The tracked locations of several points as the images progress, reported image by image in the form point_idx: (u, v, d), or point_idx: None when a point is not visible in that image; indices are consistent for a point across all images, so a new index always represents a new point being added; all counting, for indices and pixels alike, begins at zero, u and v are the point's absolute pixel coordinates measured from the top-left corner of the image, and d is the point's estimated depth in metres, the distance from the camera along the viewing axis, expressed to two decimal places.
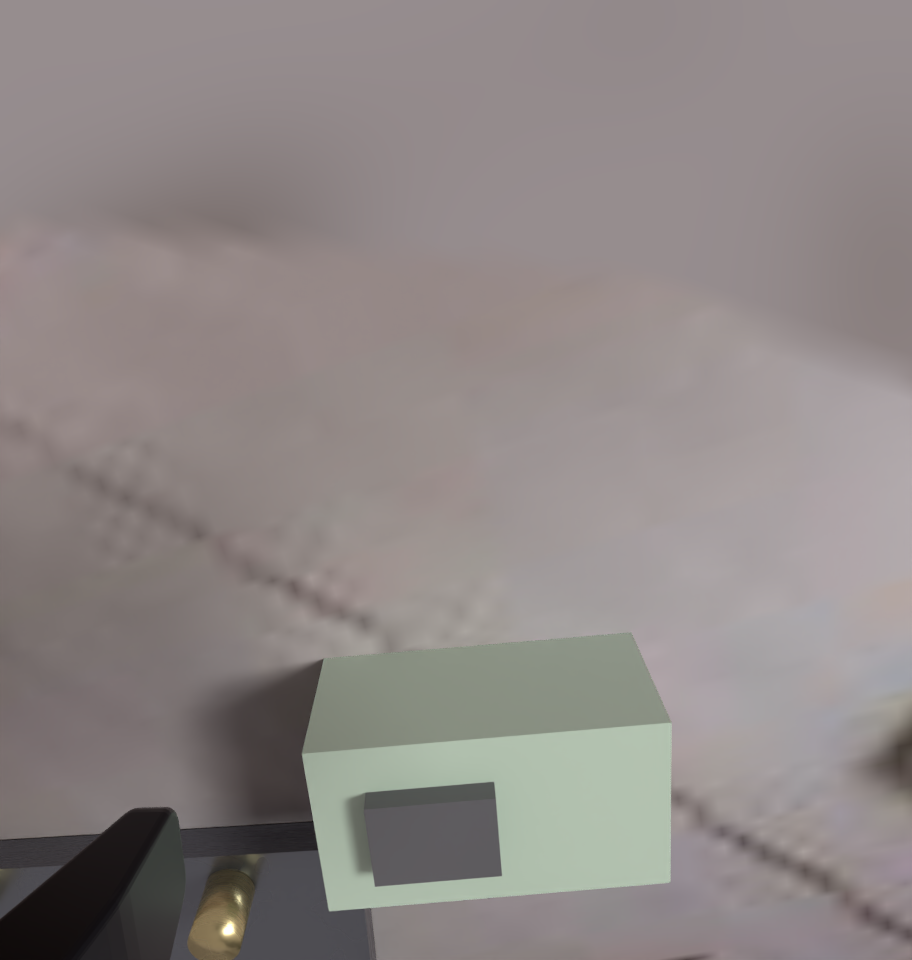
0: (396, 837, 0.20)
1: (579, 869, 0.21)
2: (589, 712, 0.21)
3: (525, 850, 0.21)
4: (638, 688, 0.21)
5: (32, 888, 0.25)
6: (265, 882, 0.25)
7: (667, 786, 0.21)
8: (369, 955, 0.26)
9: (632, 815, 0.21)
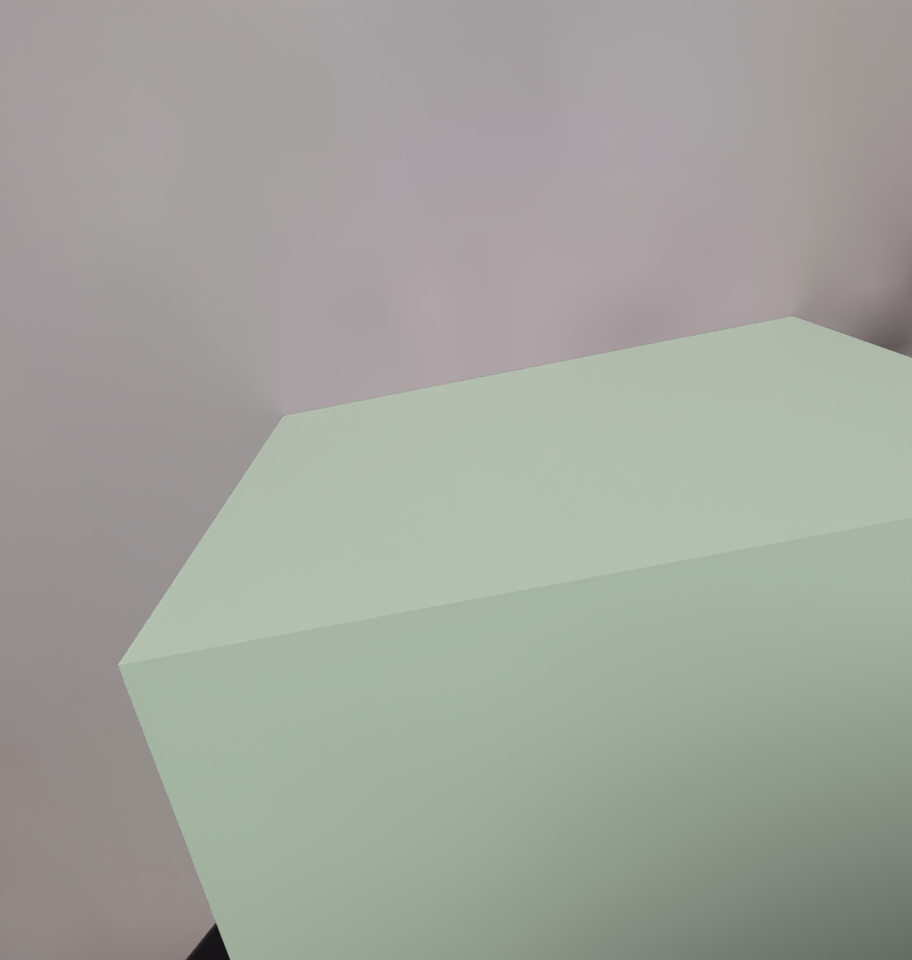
0: None
1: None
2: None
3: None
4: None
5: None
6: None
7: (521, 606, 0.04)
8: None
9: (708, 736, 0.04)
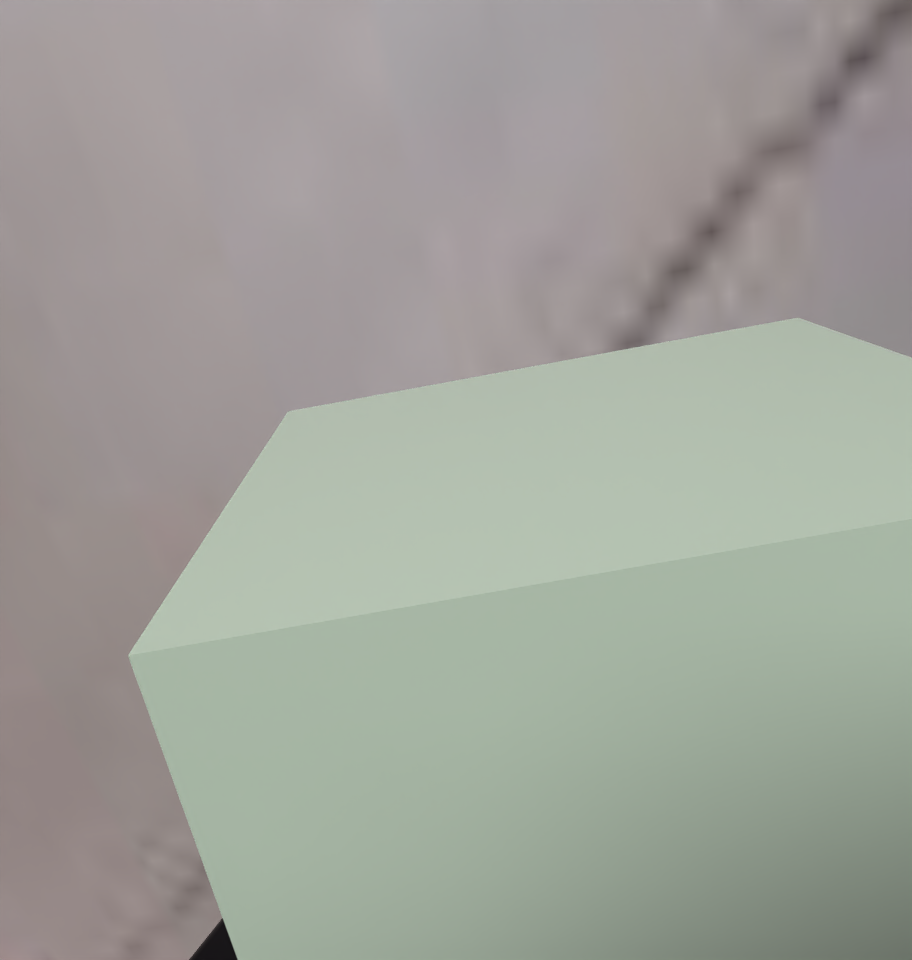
0: None
1: None
2: None
3: None
4: None
5: None
6: None
7: (532, 601, 0.04)
8: None
9: (714, 732, 0.04)
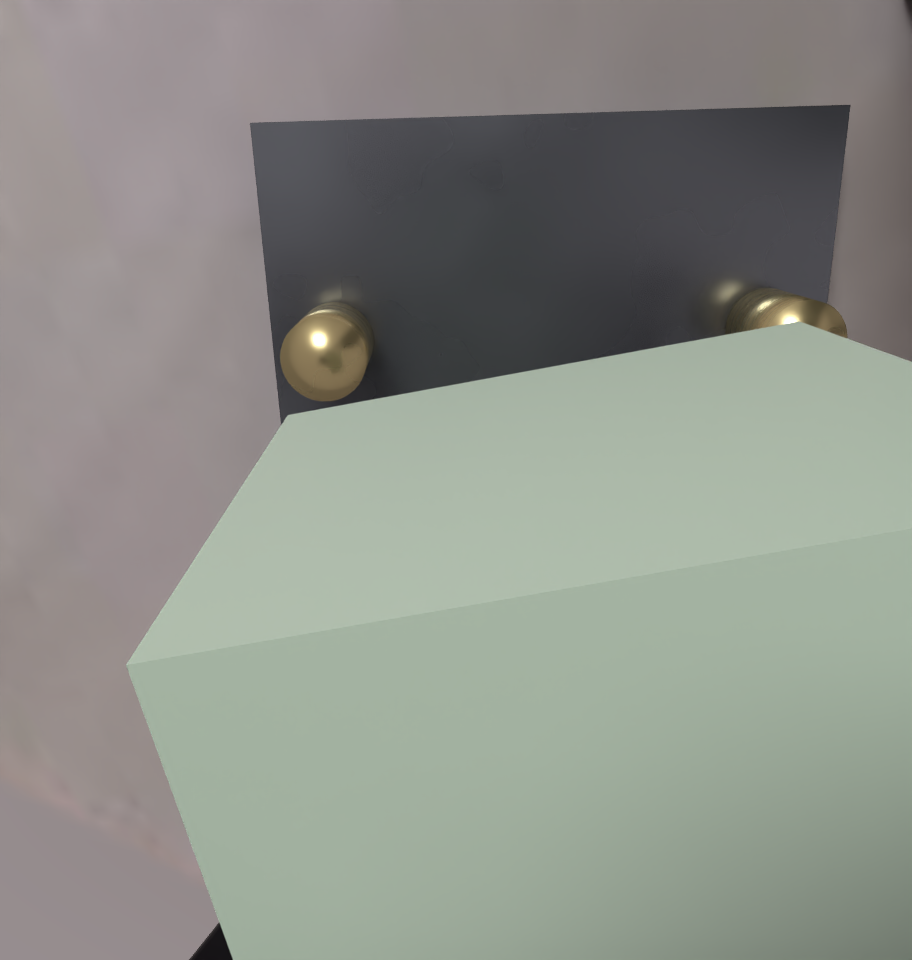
0: None
1: None
2: None
3: None
4: None
5: None
6: (324, 284, 0.16)
7: (533, 610, 0.04)
8: (491, 117, 0.15)
9: (716, 740, 0.04)
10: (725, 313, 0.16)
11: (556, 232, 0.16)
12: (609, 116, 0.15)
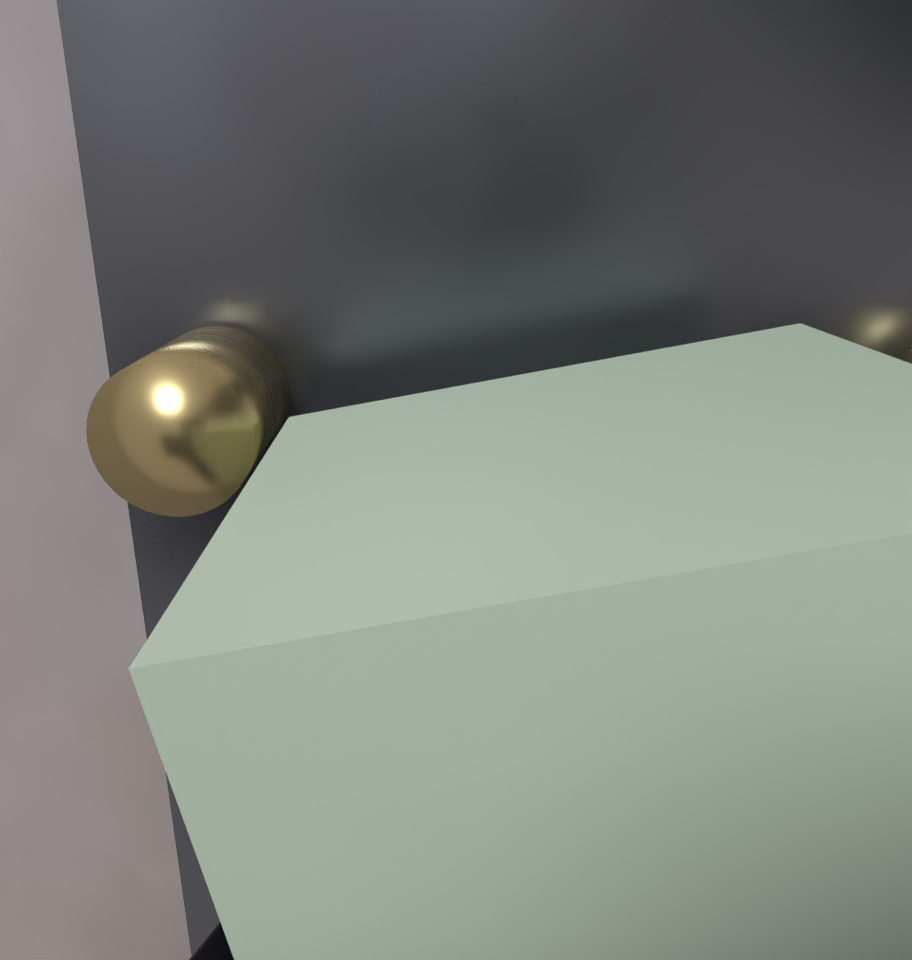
0: None
1: None
2: None
3: None
4: None
5: None
6: (199, 294, 0.09)
7: (535, 614, 0.04)
8: None
9: (718, 744, 0.04)
10: None
11: (611, 214, 0.09)
12: (717, 4, 0.08)
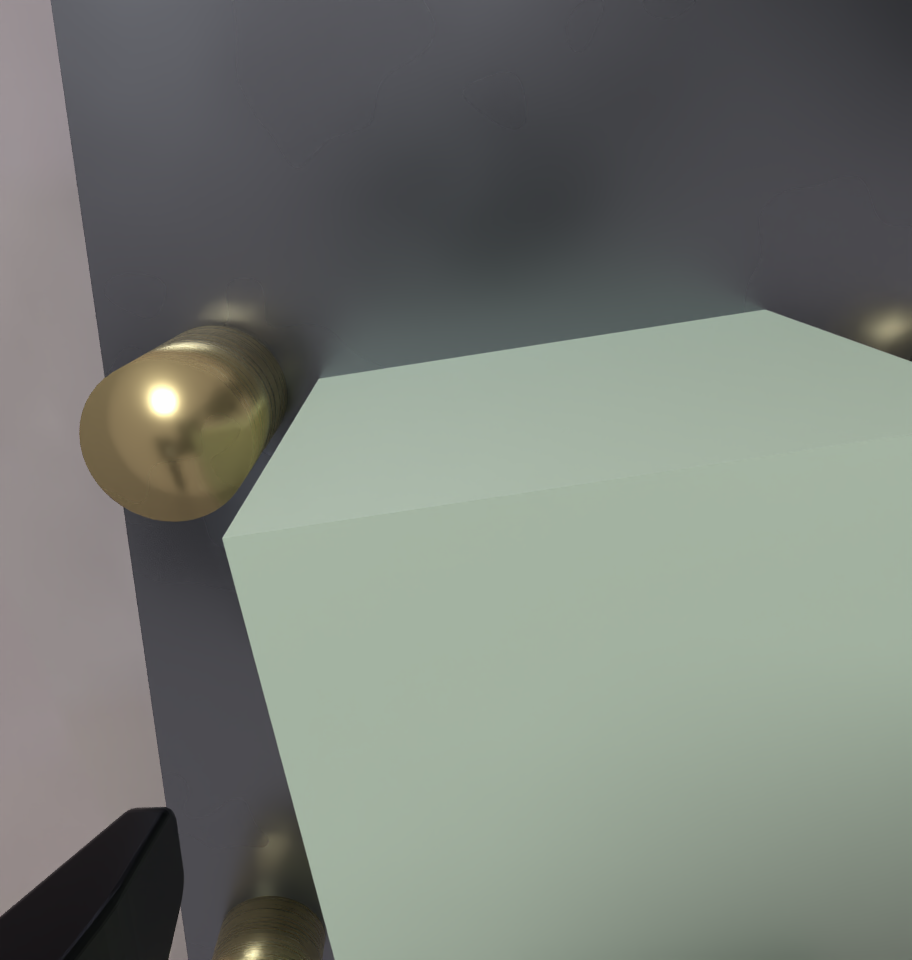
0: None
1: None
2: None
3: (811, 925, 0.06)
4: None
5: (228, 820, 0.11)
6: (196, 294, 0.09)
7: (535, 504, 0.05)
8: None
9: (673, 615, 0.05)
10: None
11: (617, 211, 0.09)
12: None
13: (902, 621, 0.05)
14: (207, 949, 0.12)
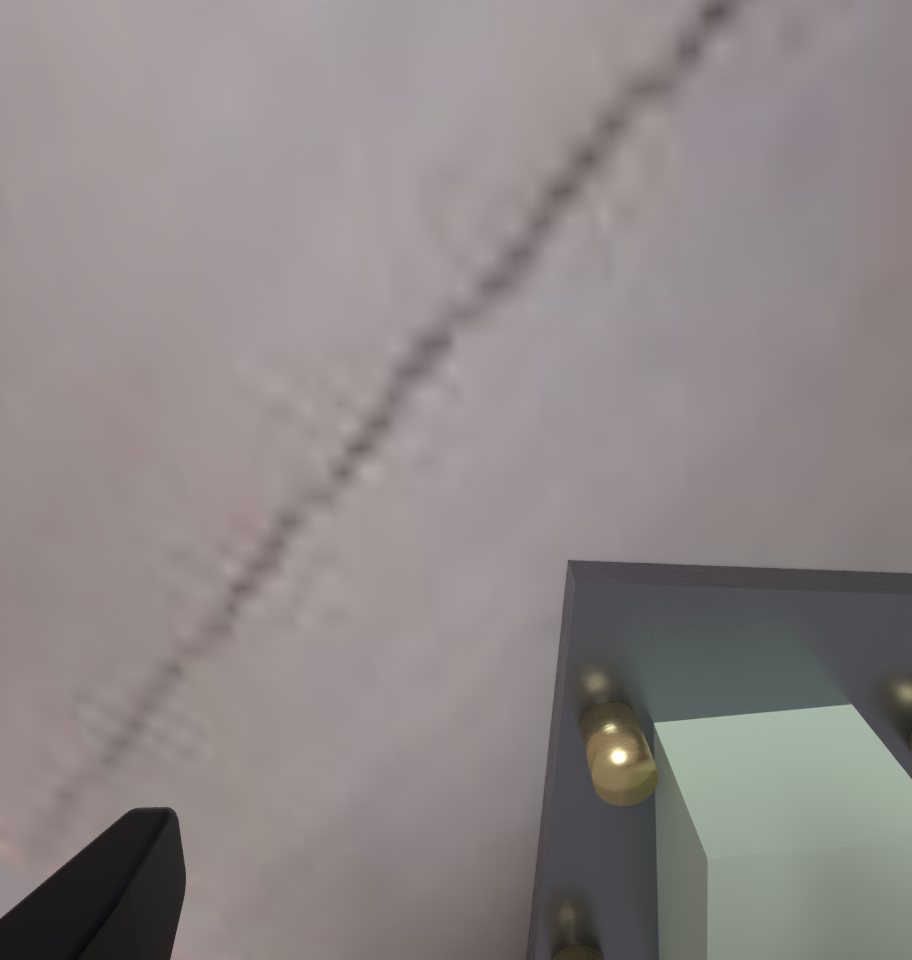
0: None
1: (911, 928, 0.17)
2: (697, 903, 0.18)
3: None
4: (686, 822, 0.18)
5: (569, 907, 0.23)
6: (608, 689, 0.21)
7: (801, 853, 0.17)
8: (758, 588, 0.20)
9: (838, 884, 0.17)
10: (911, 726, 0.21)
11: (793, 666, 0.20)
12: (847, 594, 0.20)
13: (908, 888, 0.17)
14: None
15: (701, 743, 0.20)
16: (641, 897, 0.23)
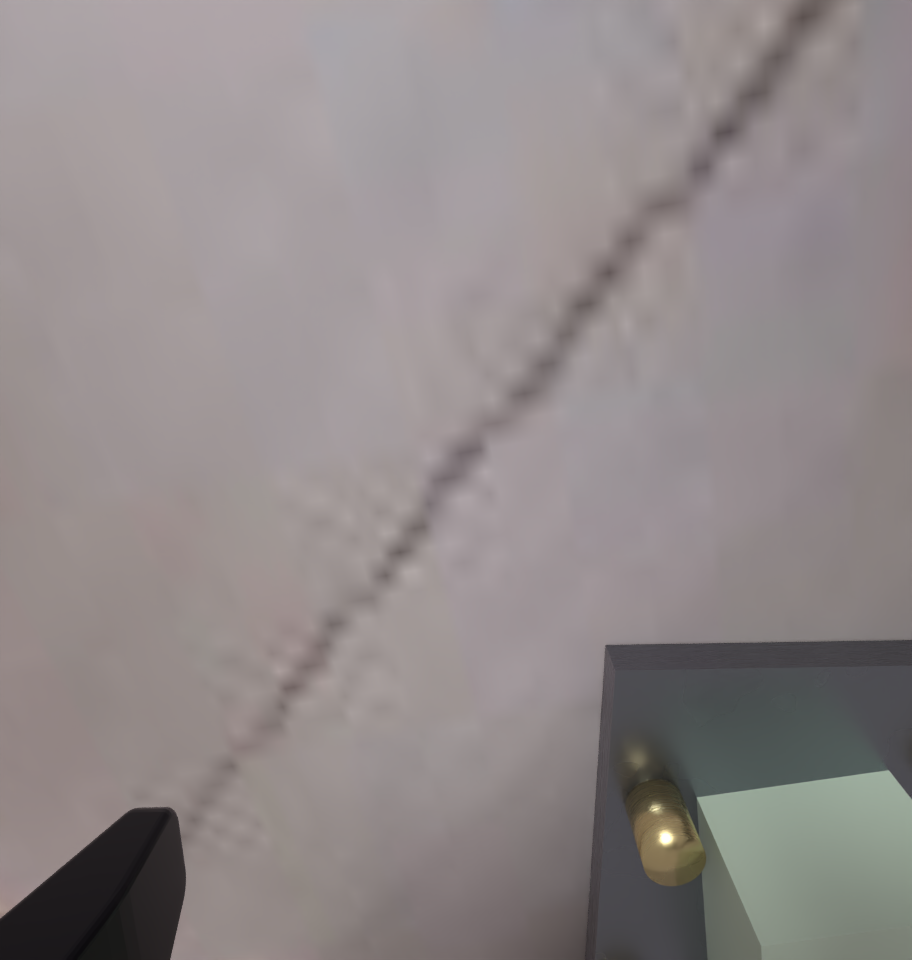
0: None
1: None
2: None
3: None
4: (736, 903, 0.19)
5: None
6: (651, 768, 0.21)
7: (851, 936, 0.17)
8: (792, 666, 0.20)
9: None
10: None
11: (829, 737, 0.21)
12: (879, 667, 0.20)
13: None
14: None
15: (745, 818, 0.21)
16: None
